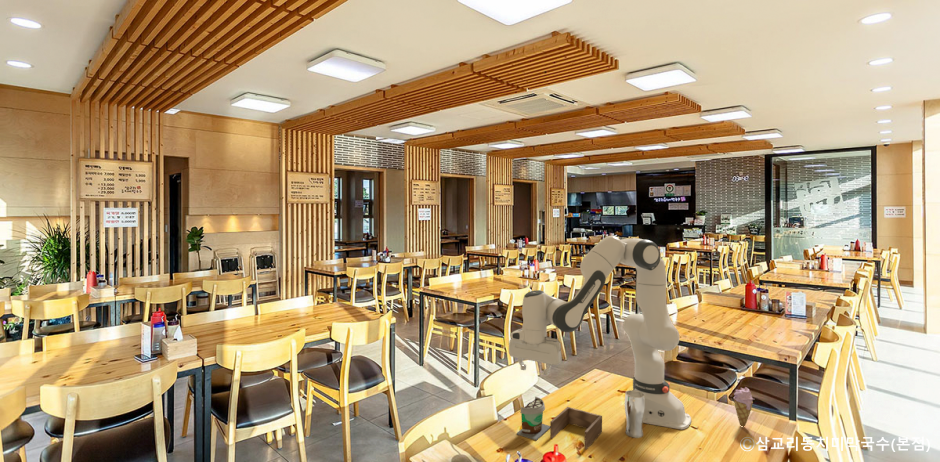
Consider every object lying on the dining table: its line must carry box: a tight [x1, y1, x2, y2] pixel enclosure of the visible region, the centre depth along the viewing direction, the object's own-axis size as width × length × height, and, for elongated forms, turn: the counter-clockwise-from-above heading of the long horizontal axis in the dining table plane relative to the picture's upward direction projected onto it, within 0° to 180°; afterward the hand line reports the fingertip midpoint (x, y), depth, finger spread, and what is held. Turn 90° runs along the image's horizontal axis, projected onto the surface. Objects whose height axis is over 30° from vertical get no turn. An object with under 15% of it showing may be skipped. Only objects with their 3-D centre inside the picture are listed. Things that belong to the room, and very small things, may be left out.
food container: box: [520, 396, 546, 434], centre depth 169 cm, size 12×6×10 cm, turn 145°
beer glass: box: [624, 389, 645, 439], centre depth 167 cm, size 7×7×15 cm
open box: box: [549, 406, 603, 450], centre depth 166 cm, size 14×15×6 cm
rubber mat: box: [516, 423, 550, 441], centre depth 169 cm, size 8×12×1 cm, turn 145°
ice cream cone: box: [733, 386, 755, 428], centre depth 172 cm, size 7×6×15 cm
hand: (534, 372), depth 168 cm, fingers open, 8 cm apart
